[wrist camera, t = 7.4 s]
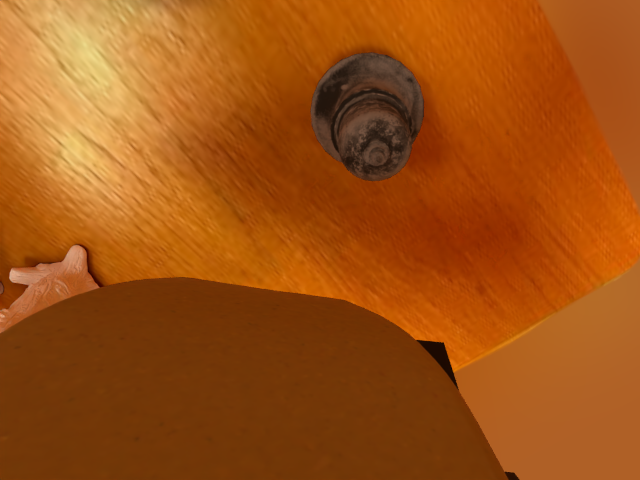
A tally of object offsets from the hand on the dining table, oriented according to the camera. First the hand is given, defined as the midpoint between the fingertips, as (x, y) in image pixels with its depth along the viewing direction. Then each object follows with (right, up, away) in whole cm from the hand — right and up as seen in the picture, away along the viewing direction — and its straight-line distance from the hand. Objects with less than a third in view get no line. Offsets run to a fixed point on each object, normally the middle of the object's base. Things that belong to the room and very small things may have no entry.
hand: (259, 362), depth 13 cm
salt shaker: (+4, +12, +14) cm, 19 cm away
